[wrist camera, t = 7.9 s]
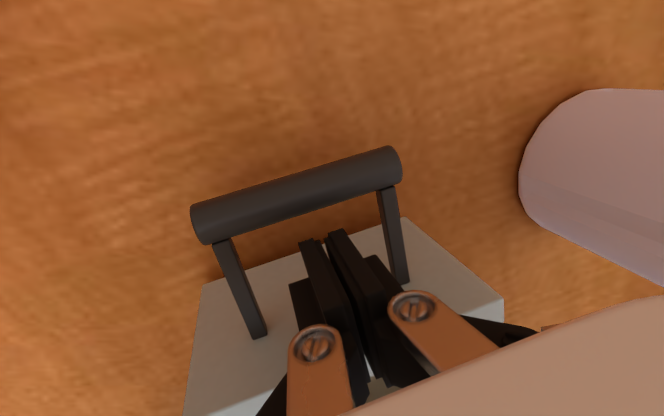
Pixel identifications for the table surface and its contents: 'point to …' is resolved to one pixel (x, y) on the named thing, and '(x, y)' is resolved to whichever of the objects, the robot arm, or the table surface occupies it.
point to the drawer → (273, 278)
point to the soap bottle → (602, 176)
